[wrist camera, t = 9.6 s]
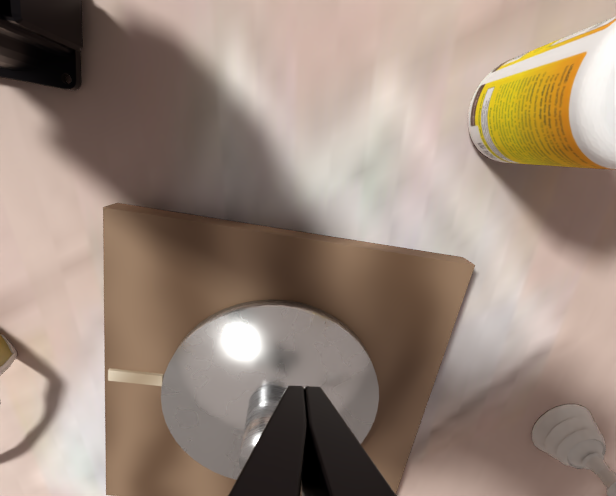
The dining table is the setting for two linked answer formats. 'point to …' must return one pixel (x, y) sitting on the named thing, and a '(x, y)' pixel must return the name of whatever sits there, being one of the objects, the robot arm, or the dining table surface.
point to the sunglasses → (6, 354)
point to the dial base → (251, 287)
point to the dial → (261, 377)
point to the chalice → (574, 441)
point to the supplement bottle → (552, 104)
